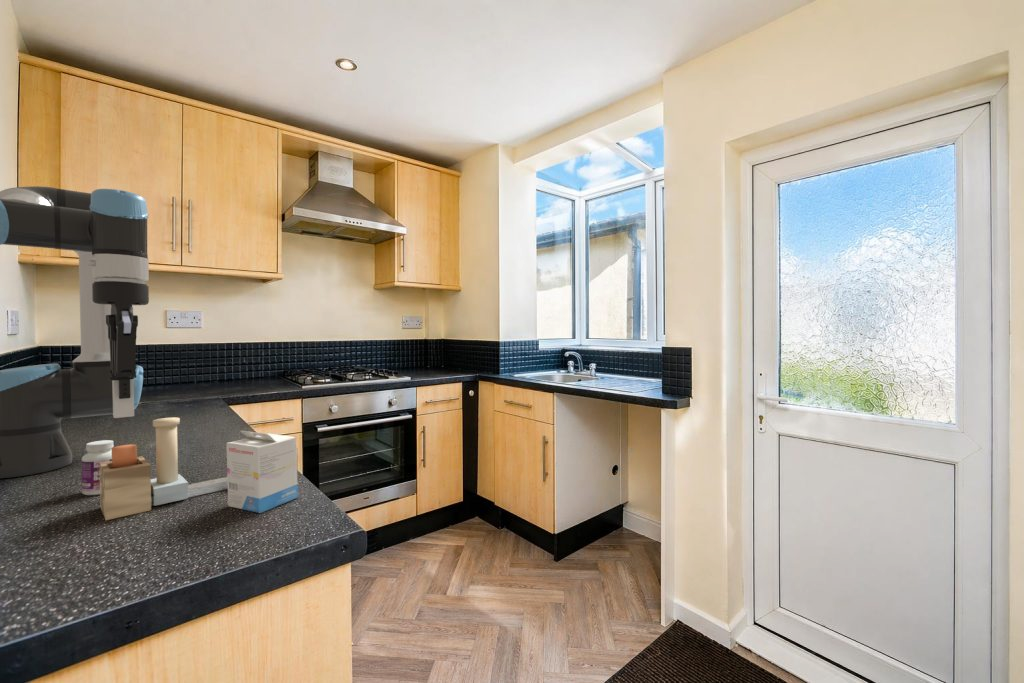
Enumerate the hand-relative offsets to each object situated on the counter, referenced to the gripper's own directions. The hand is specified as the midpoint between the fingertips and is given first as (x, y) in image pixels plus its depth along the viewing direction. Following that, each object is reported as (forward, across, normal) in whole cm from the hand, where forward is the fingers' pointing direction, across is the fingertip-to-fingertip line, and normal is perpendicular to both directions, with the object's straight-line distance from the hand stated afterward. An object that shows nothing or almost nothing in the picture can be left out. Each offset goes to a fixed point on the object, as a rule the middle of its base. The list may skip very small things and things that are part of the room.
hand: (123, 416), depth 81 cm
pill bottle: (+17, -15, -2) cm, 22 cm away
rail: (+16, 0, +10) cm, 19 cm away
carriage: (+16, 0, +6) cm, 18 cm away
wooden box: (+16, 0, 0) cm, 16 cm away
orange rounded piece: (+9, 0, 0) cm, 9 cm away
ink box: (+17, +14, +18) cm, 28 cm away
